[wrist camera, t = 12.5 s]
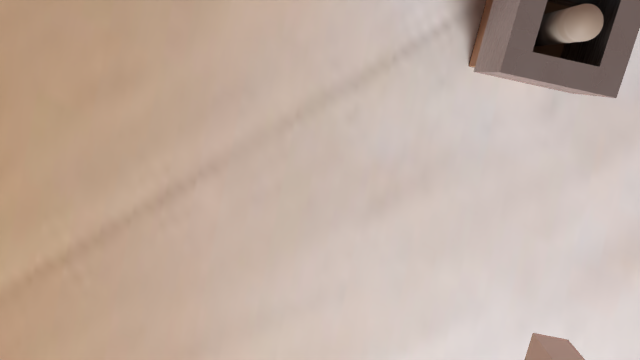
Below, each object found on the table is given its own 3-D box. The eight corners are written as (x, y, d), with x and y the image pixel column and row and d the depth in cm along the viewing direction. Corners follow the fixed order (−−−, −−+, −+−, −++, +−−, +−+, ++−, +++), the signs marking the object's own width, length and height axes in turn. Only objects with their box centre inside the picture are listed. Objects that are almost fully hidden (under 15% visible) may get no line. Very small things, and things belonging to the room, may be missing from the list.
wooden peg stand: (490, -15, 39) (548, -47, 28) (568, 2, 39) (656, -23, 28) (468, 66, 40) (516, 65, 30) (544, 82, 40) (620, 88, 30)
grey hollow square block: (502, -34, 35) (535, -54, 29) (604, -11, 35) (657, -27, 29) (473, 71, 37) (499, 72, 31) (571, 93, 37) (616, 97, 31)
